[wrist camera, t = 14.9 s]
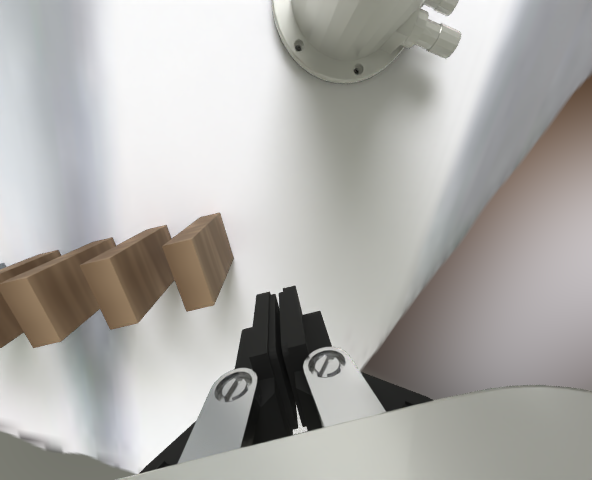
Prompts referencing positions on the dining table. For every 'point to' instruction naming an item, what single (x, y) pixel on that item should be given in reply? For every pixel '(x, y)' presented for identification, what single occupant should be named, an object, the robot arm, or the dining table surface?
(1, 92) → the dining table surface
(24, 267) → the walnut domino
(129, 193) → the dining table surface
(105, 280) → the walnut domino
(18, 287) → the walnut domino
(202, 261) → the walnut domino
